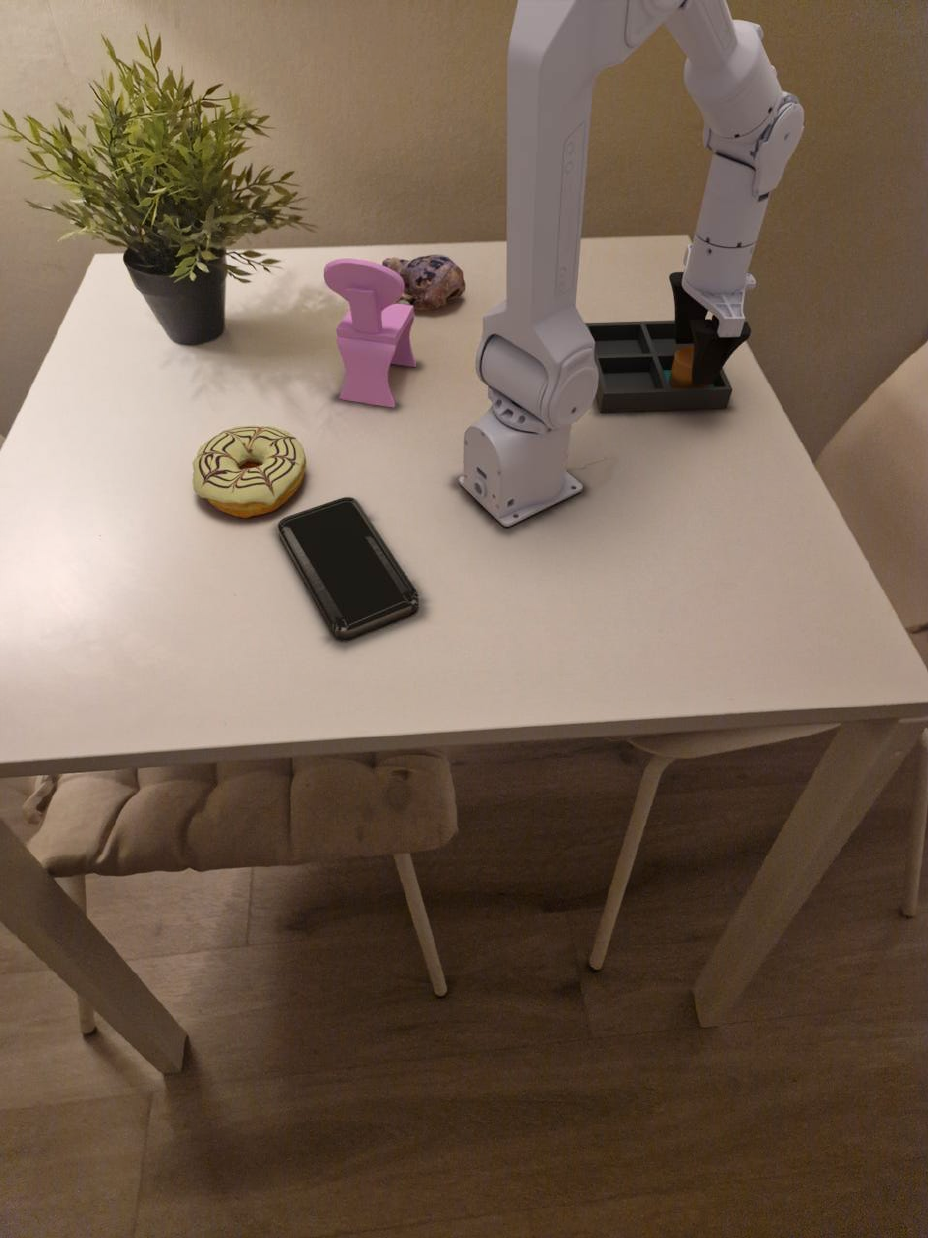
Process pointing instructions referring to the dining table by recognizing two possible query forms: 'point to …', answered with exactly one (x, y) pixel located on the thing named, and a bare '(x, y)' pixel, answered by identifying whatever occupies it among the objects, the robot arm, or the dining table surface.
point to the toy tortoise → (428, 280)
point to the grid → (646, 370)
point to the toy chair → (370, 328)
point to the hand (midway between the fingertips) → (693, 361)
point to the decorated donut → (249, 470)
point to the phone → (347, 567)
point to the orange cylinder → (683, 369)
